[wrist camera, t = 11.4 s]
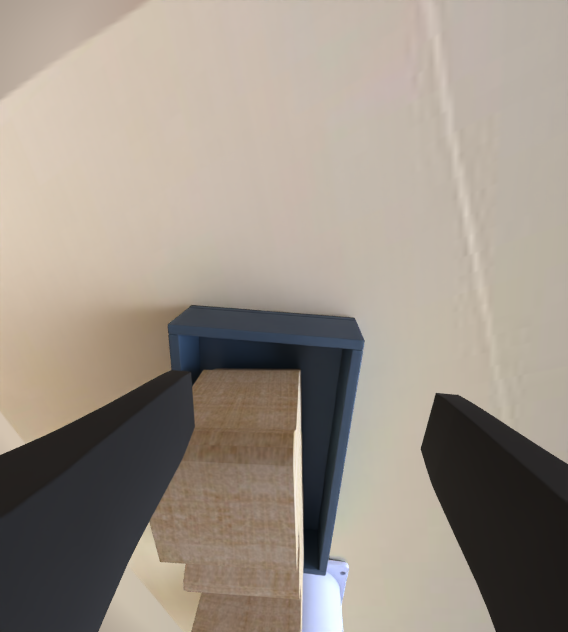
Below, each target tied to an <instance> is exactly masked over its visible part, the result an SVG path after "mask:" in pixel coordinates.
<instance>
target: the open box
mask: <svg viewBox="0 0 568 632" xmlns="http://www.w3.org/2000/svg"><path fill="white" fill-rule="evenodd" d="M168 333H169V335H168V336H169V346H170V357H171V368H172V370H176V371H188V372H191V377H192V386H193V385H194V383H195V382H196V380H197V379H198V377H199V376H200V374H201V373H202V371H203V370H213V369H216V368H240V369H301V395H302V414H301V432H302V447H303V473H302V484H303V491H304V517H303V538H304V564H303V573H306V574H314V575H321V576H326V570H327V565H328V559H329V553H330V547H331V541H332V535H333V529H334V523H335V517H336V511H337V505H338V499H339V493H340V487H341V481H342V475H343V469H344V463H345V457H346V451H347V445H348V439H349V433H350V427H351V420H352V414H353V408H354V402H355V396H356V390H357V384H358V378H359V372H360V366H361V360H362V354H363V348H364V342H365V341H364V338H363V336H362V334H361V331H360V329H359V327H358V324H357V322H356V320H355V318H350V317H337V316H324V315H311V314H298V313H286V312H273V311H260V310H247V309H234V308H221V307H208V306H196V305H191V306H190V307H189V308H188V309H186V310H185V311H184V312H183V313H181V314H180V315H179V316H178V317H176V318H175V319H174V320H173V321H171V322H170V323H169V324H168Z"/></svg>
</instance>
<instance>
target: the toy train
mask: <svg viewBox="0 0 568 632" xmlns="http://www.w3.org/2000/svg"><path fill="white" fill-rule="evenodd" d="M192 391H193V405H194V420H195V428H194V431H193V433H192V436H191V439H190V441H189V444H188V447H187V449H186V452H185V454H184V457H183V459H182V461H181V463H180V465H179V467H178V469H177V471H176V472H175V474H174V476H173V478H172V480H171V482H170V484H169V486H168V488H167V489H166V491H165V493H164V495H163V497H162V499H161V501H160V502H159V504H158V506H157V508H156V510H155V512H154V514H153V515H152V517H151V519H150V521H149V522H150V525H151V529H152V533H153V537H154V540H155V544H156V548H157V552H158V556H159V559H160V562H169V563H184V564H186V566H185V573H184V580H183V584H184V590H185V591H189V592H202V594H201V597H200V601H199V605H198V609H197V612H196V616H195V620H194V623H193V627H192V631H191V632H302V600H303V564H304V538H303V517H304V491H303V484H302V473H303V447H302V432H301V414H302V395H301V369H240V368H216V369H213V370H203V371H202V373H201V374H200V376H199V377H198V379H197V380H196V382H195V383H194V385H193V386H192Z"/></svg>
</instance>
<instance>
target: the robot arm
mask: <svg viewBox="0 0 568 632" xmlns="http://www.w3.org/2000/svg"><path fill="white" fill-rule="evenodd" d="M194 428H195V420H194V405H193V391H192V377H191V372H188V371H176V370H171V371H168V372H166V373H164V374H162V375H160V376H158V377H156V378H155V379H153V380H151V381H149V382H147V383H145V384H144V385H142V386H140V387H138V388H136V389H135V390H133V391H131V392H129V393H127V394H125V395H124V396H122V397H120V398H118V399H116V400H114V401H113V402H111V403H109V404H107V405H105V406H103V407H101V408H99V409H97V410H95V411H94V412H92V413H90V414H88V415H86V416H84V417H82V418H80V419H78V420H76V421H74V422H72V423H70V424H68V425H66V426H64V427H62V428H60V429H58V430H56V431H54V432H51V433H49V434H47V435H45V436H43V437H41V438H38V439H36V440H34V441H32V442H30V443H27V444H25V445H23V446H20V447H18V448H16V449H13V450H11V451H9V452H6V453H4V454H2V455H0V632H98V631H99V628H100V626H101V624H102V621H103V619H104V617H105V614H106V612H107V610H108V607H109V605H110V603H111V601H112V598H113V596H114V594H115V591H116V589H117V587H118V585H119V582H120V580H121V578H122V575H123V573H124V571H125V569H126V566H127V564H128V562H129V560H130V558H131V556H132V554H133V552H134V550H135V548H136V546H137V544H138V542H139V540H140V538H141V536H142V534H143V532H144V530H145V529H146V527H147V525H148V523H149V521H150V519H151V517H152V515H153V514H154V512H155V510H156V508H157V506H158V504H159V502H160V501H161V499H162V497H163V495H164V493H165V491H166V489H167V488H168V486H169V484H170V482H171V480H172V478H173V476H174V474H175V472H176V471H177V469H178V467H179V465H180V463H181V461H182V459H183V457H184V454H185V452H186V449H187V447H188V444H189V441H190V439H191V436H192V433H193V431H194ZM421 451H422V455H423V458H424V461H425V465H426V468H427V471H428V474H429V477H430V480H431V483H432V486H433V488H434V490H435V493H436V495H437V497H438V499H439V502H440V504H441V506H442V508H443V511H444V513H445V515H446V517H447V519H448V522H449V524H450V526H451V528H452V530H453V533H454V535H455V537H456V539H457V541H458V543H459V546H460V548H461V550H462V552H463V554H464V556H465V559H466V561H467V563H468V565H469V567H470V570H471V572H472V574H473V576H474V578H475V580H476V583H477V585H478V587H479V590H480V592H481V595H482V597H483V599H484V602H485V604H486V606H487V609H488V611H489V614H490V617H491V620H492V622H493V625H494V628H495V630H496V632H568V464H567V463H565V462H563V461H562V460H560V459H559V458H557V457H555V456H554V455H552V454H551V453H549V452H547V451H546V450H544V449H543V448H541V447H540V446H538V445H537V444H535V443H533V442H532V441H530V440H529V439H527V438H526V437H524V436H523V435H521V434H520V433H518V432H516V431H515V430H513V429H512V428H510V427H509V426H507V425H506V424H504V423H503V422H501V421H500V420H498V419H497V418H495V417H494V416H492V415H490V414H489V413H487V412H486V411H484V410H483V409H481V408H479V407H478V406H476V405H475V404H473V403H471V402H470V401H468V400H466V399H465V398H463V397H461V396H459V395H452V394H441V393H436V395H435V399H434V402H433V406H432V410H431V413H430V417H429V421H428V424H427V428H426V432H425V435H424V439H423V443H422V446H421ZM348 571H349V568H348V564H347V563H346V562H342V561H334V560H328V565H327V570H326V576H321V575H314V574H306V573H303V600H302V632H343V622H342V610H341V605H342V600H343V595H344V590H345V585H346V581H347V576H348Z"/></svg>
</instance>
